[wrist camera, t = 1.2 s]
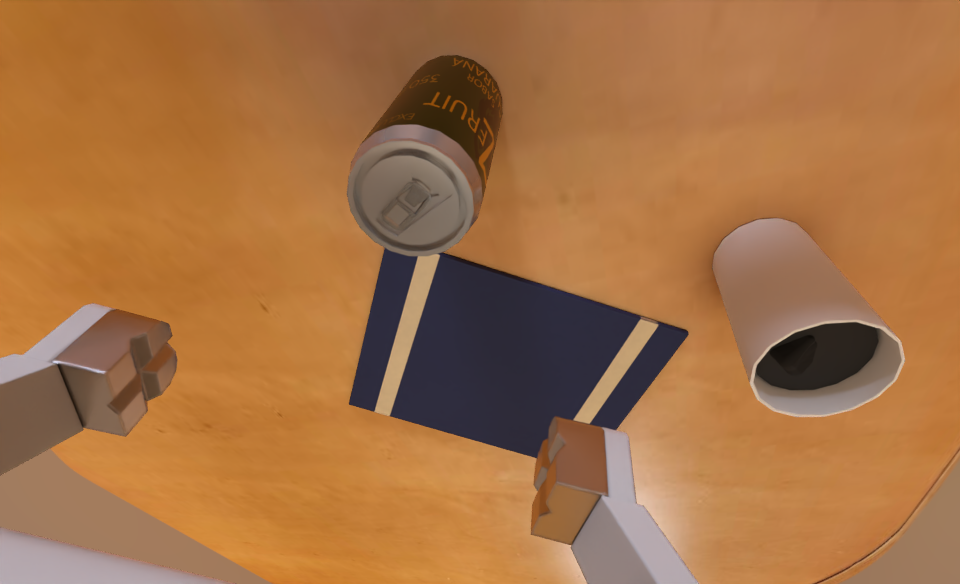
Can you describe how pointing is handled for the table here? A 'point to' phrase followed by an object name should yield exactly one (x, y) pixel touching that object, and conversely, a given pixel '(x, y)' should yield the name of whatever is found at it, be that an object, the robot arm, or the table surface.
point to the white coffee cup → (801, 323)
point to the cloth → (500, 353)
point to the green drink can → (428, 159)
